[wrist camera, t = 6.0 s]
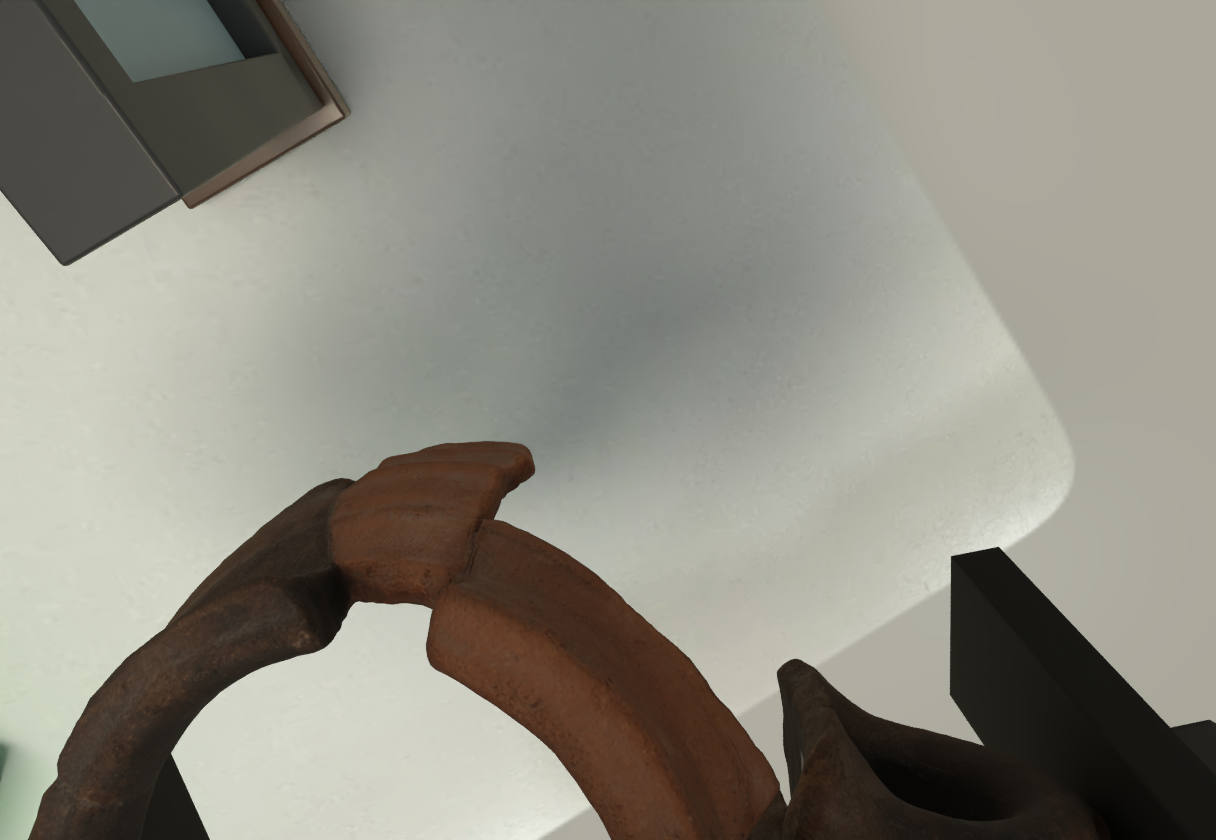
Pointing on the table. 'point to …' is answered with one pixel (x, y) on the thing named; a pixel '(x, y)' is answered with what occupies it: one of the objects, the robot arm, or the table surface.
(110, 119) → the window sash
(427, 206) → the table surface
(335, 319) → the table surface
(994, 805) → the pottery mug
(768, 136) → the table surface
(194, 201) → the brown piece
